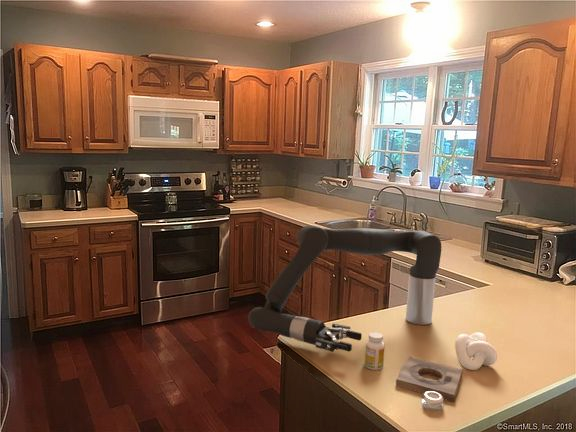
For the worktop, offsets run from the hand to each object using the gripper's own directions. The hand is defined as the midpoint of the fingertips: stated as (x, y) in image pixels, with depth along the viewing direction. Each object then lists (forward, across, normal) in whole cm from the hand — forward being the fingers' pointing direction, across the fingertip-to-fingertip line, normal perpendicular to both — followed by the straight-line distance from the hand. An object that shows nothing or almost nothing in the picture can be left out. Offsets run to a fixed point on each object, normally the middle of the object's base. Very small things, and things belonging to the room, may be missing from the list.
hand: (356, 342), depth 136 cm
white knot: (+31, +16, +6) cm, 35 cm away
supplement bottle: (+6, 0, +6) cm, 8 cm away
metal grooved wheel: (+25, -12, +6) cm, 28 cm away
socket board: (+22, 0, +6) cm, 23 cm away
